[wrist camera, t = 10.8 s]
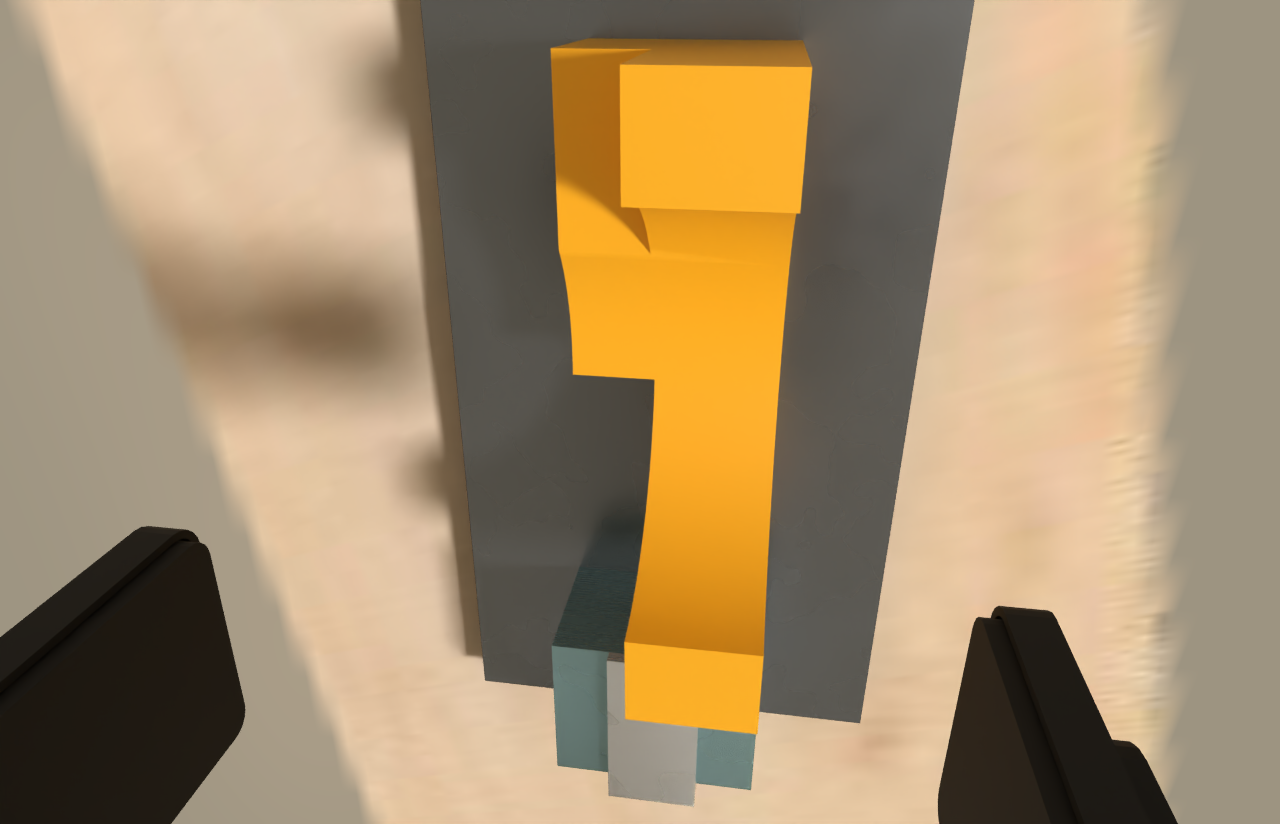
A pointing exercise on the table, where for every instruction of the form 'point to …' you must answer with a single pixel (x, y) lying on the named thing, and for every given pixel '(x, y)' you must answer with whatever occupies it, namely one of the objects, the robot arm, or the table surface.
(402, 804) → the table surface
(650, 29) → the workpiece vise
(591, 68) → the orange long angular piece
